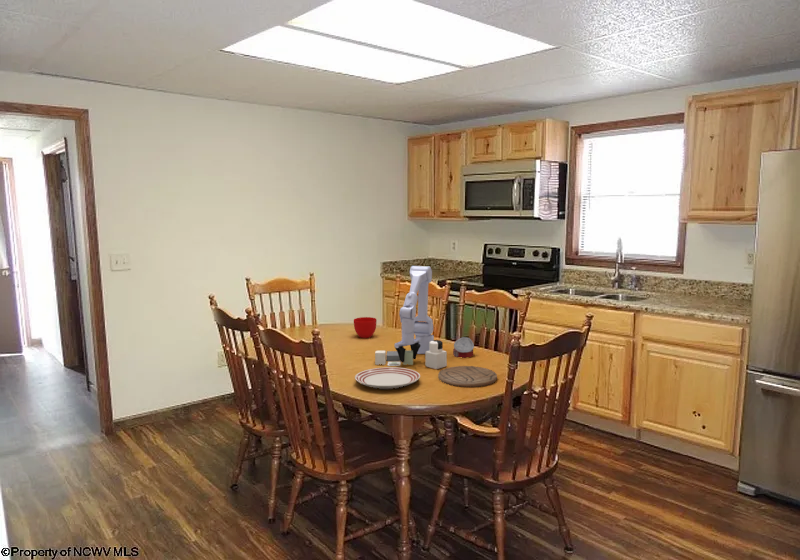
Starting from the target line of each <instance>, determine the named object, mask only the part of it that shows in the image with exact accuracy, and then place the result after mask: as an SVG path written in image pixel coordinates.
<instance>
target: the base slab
mask: <svg viewBox="0 0 800 560" xmlns="http://www.w3.org/2000/svg"><path fill="white" fill-rule="evenodd" d="M386 361H387V362H401V361H400V358H399V355H398V352H397V350H395V351H393V350H392V351H390V350H388V351H386Z"/></svg>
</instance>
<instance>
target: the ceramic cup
mask: <svg viewBox="0 0 800 560" xmlns="http://www.w3.org/2000/svg"><path fill="white" fill-rule="evenodd" d="M353 328H354V332H355V333H356V335H357V336H358V337H359V338H361V339H368V338H369V337H370V338H372V336H373V335H374V334H375V332H376V329H377V318H376V317H370V316H369V317H368V316H360V317H357V318H356V317H355V318H354V319H353Z"/></svg>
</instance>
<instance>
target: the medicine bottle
mask: <svg viewBox="0 0 800 560" xmlns="http://www.w3.org/2000/svg"><path fill="white" fill-rule="evenodd" d="M443 347H444V345H443V341H442V340H439V339H434V340H432V341H430V342H429V351H426V352H425V354H424V355H425V356H424V357H425V360H424V361H425V367H426V368H431V369H434V370H438V369H442V368H445V367H446V368H447V366H448V364H447V363H448V362H447V355H448V353H447V351H446V350H444V348H443Z"/></svg>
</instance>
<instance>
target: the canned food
mask: <svg viewBox="0 0 800 560" xmlns="http://www.w3.org/2000/svg"><path fill="white" fill-rule="evenodd" d="M474 348H475V345H474V342H473V340H472V339H471V338H470V337H468V336H467V337H466V336H462V337H460V338H458V339H456V340H455V342H454V343H453V351H452V355H454V356H453V357H456V358H458V357H462V358H461V359H467V358H466V357H470V358H472V357H471V356H473V357H474Z"/></svg>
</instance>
